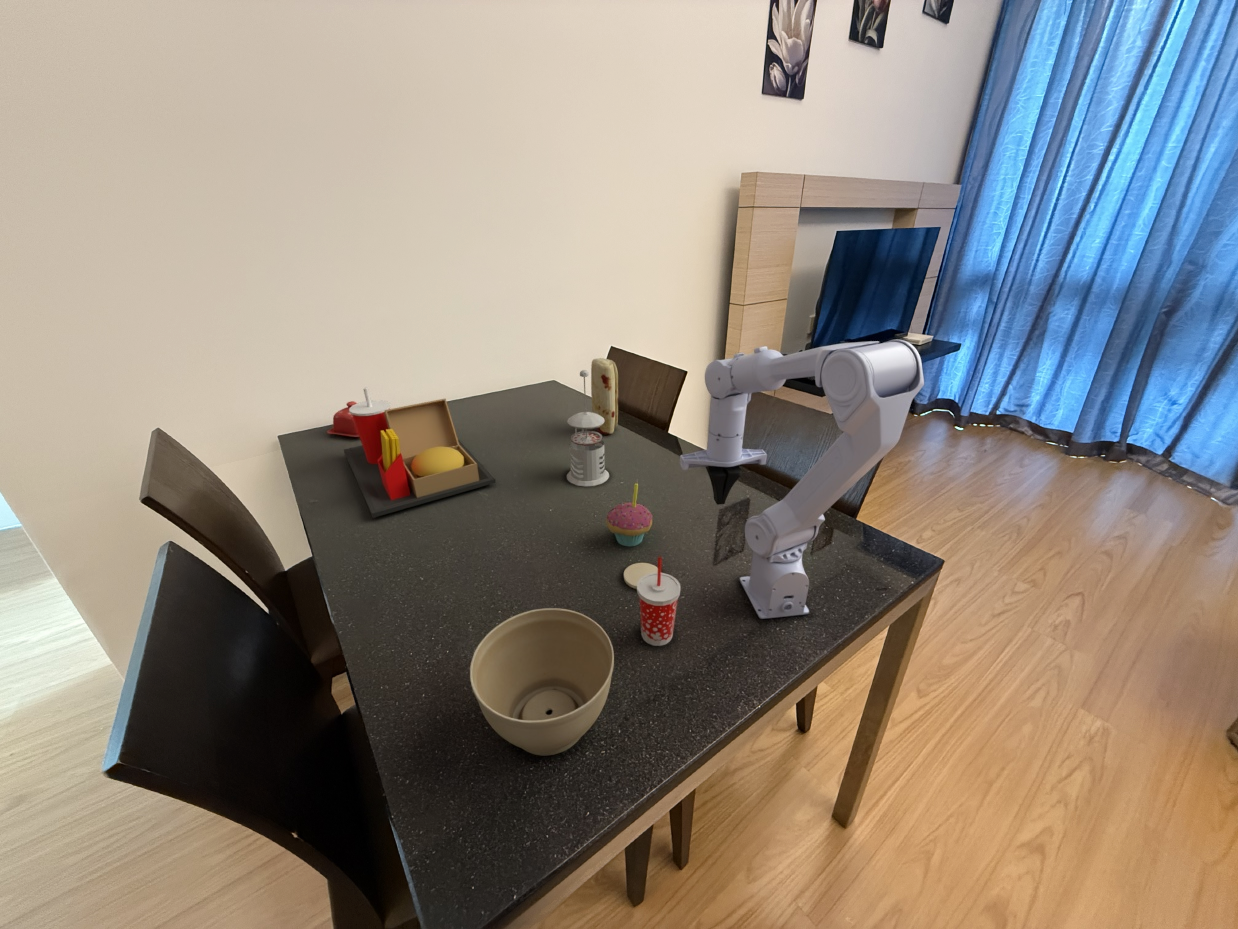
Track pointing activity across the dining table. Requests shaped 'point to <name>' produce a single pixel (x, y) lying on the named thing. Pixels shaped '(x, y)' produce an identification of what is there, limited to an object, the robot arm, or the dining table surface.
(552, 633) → the planter bowl
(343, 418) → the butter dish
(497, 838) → the dining table surface
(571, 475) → the french press
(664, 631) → the beverage cup
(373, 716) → the dining table surface
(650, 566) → the coaster
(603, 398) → the food model
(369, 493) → the fast food meal
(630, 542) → the cupcake
